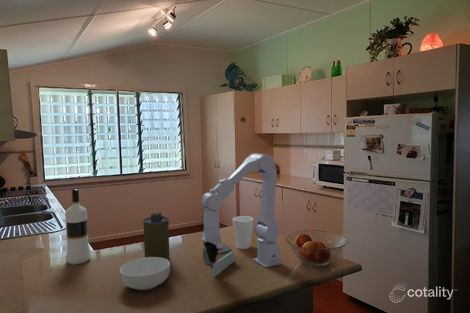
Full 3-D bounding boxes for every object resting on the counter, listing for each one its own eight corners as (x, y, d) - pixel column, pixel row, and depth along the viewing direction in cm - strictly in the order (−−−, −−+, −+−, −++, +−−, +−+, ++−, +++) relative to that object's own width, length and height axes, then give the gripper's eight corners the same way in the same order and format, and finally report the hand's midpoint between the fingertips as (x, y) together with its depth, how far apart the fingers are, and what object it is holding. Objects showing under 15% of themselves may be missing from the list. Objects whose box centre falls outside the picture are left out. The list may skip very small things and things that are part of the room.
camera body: (233, 261, 137) (233, 248, 137) (210, 266, 133) (210, 252, 132) (225, 255, 145) (224, 242, 144) (203, 259, 140) (202, 246, 140)
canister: (164, 266, 133) (162, 216, 132) (139, 265, 135) (137, 215, 134) (174, 256, 144) (173, 210, 142) (151, 255, 146) (150, 209, 144)
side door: (234, 261, 137) (234, 250, 136) (214, 276, 123) (214, 264, 123) (232, 260, 137) (232, 250, 137) (213, 275, 123) (212, 263, 123)
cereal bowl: (151, 271, 129) (150, 253, 129) (180, 283, 119) (180, 263, 118) (110, 287, 116) (109, 267, 116) (139, 302, 106) (138, 280, 105)
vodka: (63, 266, 135) (59, 191, 133) (69, 257, 144) (65, 188, 142) (88, 263, 137) (85, 190, 135) (92, 255, 146) (89, 186, 144)
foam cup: (253, 250, 150) (253, 221, 149) (232, 250, 151) (232, 221, 150) (252, 243, 160) (252, 216, 159) (233, 243, 160) (233, 216, 159)
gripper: (194, 222, 129) (195, 256, 131) (209, 232, 117) (210, 270, 118) (211, 219, 133) (212, 253, 134) (227, 229, 120) (228, 266, 121)
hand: (212, 261), depth 126 cm, fingers closed
